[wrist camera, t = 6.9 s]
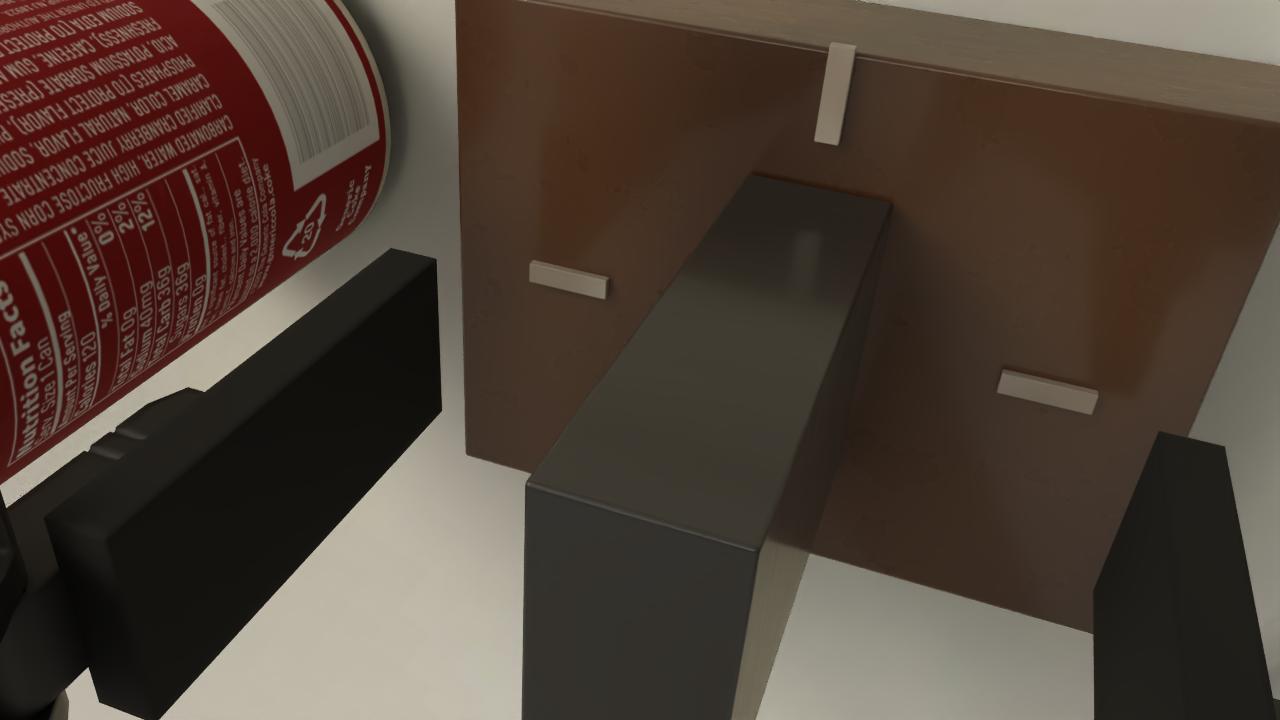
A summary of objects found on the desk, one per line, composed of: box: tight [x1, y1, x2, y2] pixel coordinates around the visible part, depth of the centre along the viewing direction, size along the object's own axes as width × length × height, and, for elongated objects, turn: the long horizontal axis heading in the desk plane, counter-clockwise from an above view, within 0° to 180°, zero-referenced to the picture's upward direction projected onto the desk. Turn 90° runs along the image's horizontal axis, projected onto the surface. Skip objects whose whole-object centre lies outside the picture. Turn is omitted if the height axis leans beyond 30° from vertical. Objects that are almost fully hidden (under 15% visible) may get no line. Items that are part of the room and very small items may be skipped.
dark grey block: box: [522, 175, 893, 720], centre depth 14 cm, size 5×2×8 cm, turn 176°
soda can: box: [0, 0, 391, 485], centre depth 17 cm, size 7×7×12 cm
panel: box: [455, 0, 1280, 634], centre depth 18 cm, size 12×9×3 cm
